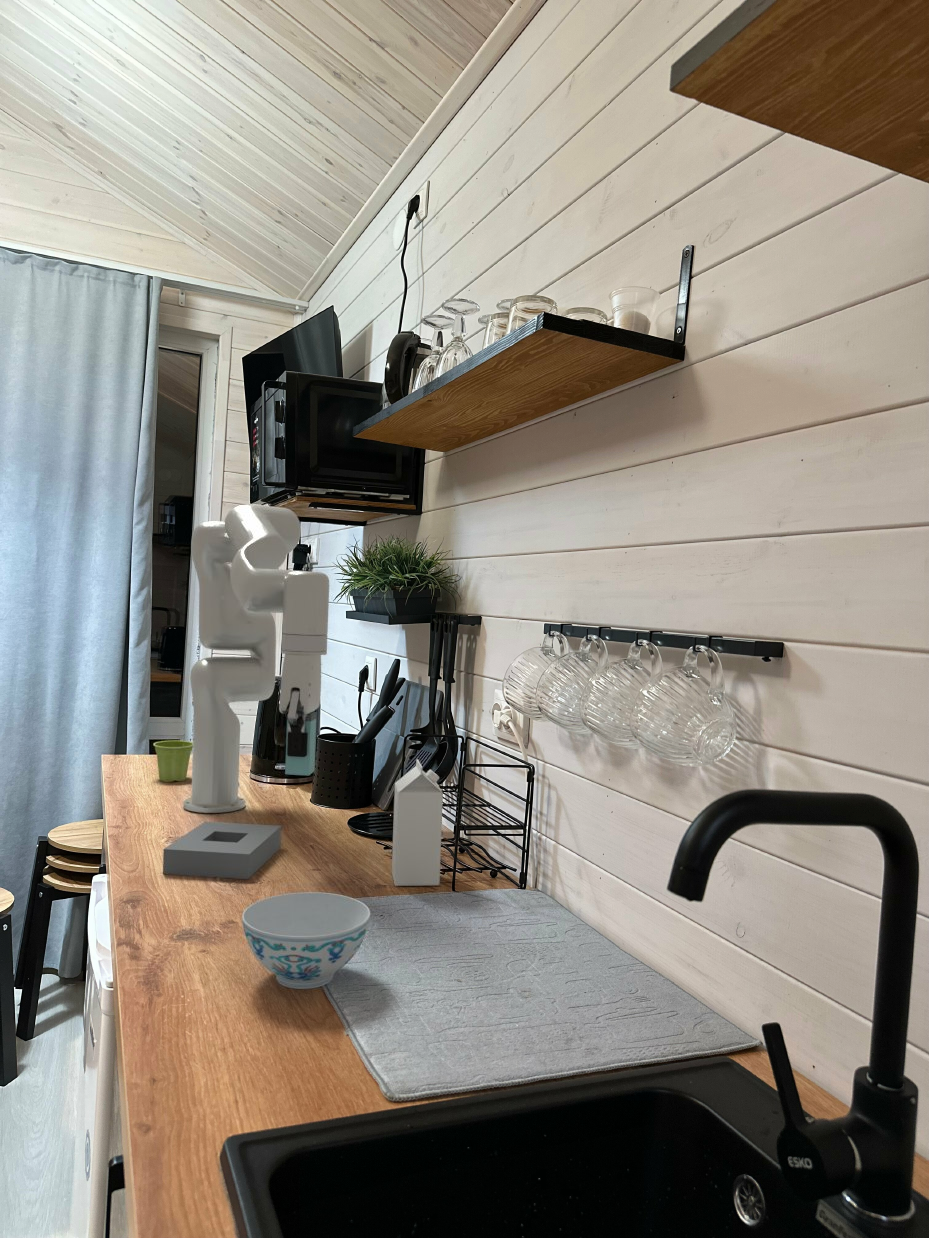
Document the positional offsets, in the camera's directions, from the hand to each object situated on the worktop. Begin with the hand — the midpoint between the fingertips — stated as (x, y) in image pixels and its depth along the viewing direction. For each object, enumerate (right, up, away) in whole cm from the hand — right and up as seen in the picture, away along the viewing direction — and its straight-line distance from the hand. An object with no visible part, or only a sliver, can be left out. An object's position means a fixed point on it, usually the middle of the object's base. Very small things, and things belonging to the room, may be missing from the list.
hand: (300, 752), depth 150 cm
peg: (0, -3, 0) cm, 3 cm away
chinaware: (+9, -20, -44) cm, 49 cm away
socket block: (-13, -18, +1) cm, 23 cm away
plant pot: (-42, -16, +64) cm, 78 cm away
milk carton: (+20, -20, -5) cm, 28 cm away
